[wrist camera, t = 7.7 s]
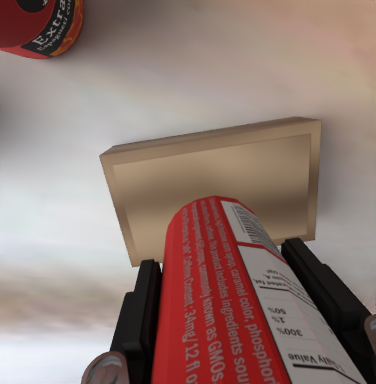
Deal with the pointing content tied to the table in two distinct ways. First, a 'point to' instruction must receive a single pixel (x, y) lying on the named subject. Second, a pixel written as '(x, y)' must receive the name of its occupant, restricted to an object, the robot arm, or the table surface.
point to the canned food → (39, 26)
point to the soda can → (237, 307)
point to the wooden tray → (217, 179)
